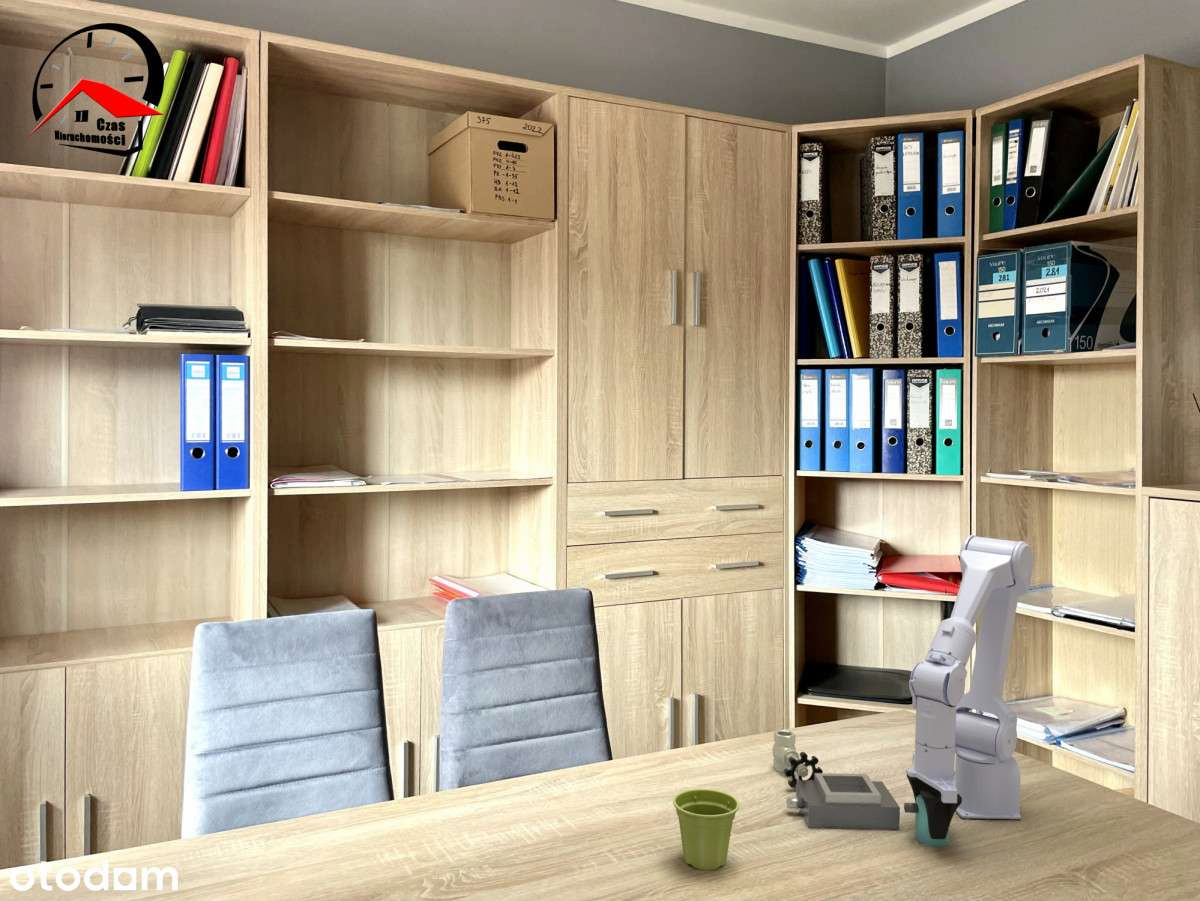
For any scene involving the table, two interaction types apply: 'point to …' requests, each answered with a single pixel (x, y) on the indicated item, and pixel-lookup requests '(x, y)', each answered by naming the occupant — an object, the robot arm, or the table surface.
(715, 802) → the plant pot
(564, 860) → the table surface
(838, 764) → the table surface
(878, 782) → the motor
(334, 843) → the table surface
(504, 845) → the table surface
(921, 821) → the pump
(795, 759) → the valve
